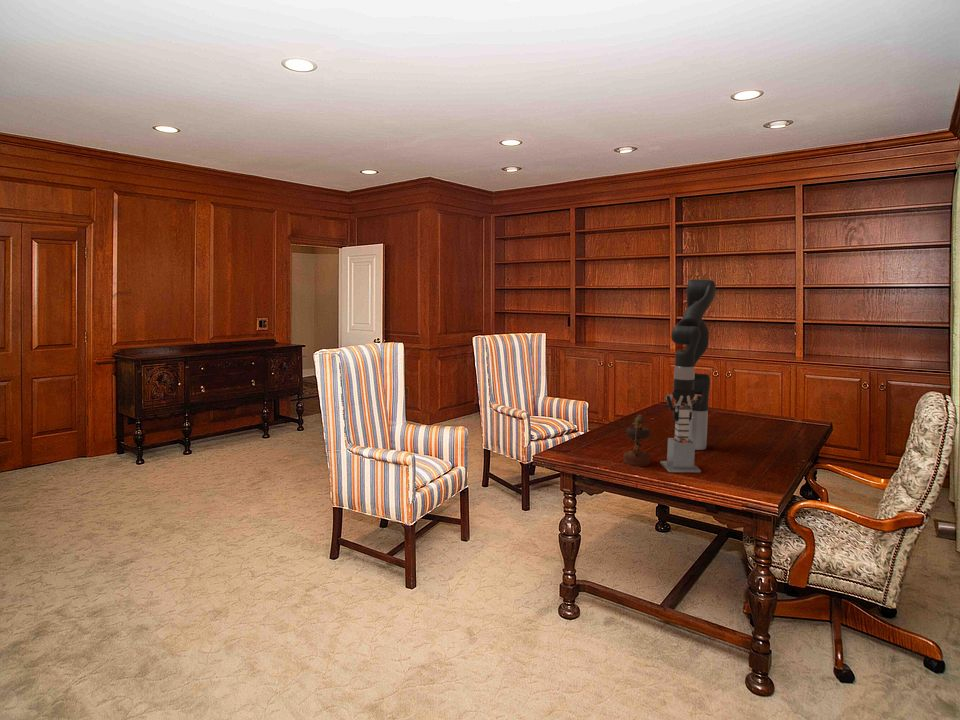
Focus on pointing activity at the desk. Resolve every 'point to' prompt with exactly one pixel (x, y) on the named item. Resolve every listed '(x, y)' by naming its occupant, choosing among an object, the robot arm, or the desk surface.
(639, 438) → the brown piece
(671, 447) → the stand
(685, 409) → the column
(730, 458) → the desk surface
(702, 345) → the robot arm
